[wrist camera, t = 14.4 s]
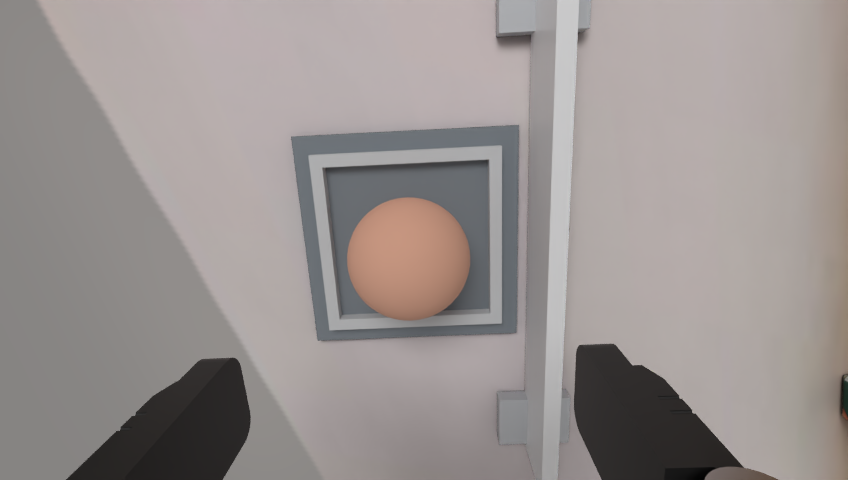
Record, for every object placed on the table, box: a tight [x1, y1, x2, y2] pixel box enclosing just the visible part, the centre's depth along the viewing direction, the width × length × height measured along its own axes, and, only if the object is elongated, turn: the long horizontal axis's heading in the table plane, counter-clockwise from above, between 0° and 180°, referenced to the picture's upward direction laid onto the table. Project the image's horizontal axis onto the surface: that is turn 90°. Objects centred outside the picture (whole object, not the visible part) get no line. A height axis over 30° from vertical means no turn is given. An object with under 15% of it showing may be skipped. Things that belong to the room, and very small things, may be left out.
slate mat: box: [291, 125, 519, 341], centre depth 21 cm, size 11×11×1 cm
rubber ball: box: [347, 197, 470, 321], centre depth 19 cm, size 6×6×6 cm
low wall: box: [496, 0, 591, 480], centre depth 20 cm, size 4×26×4 cm, turn 3°
